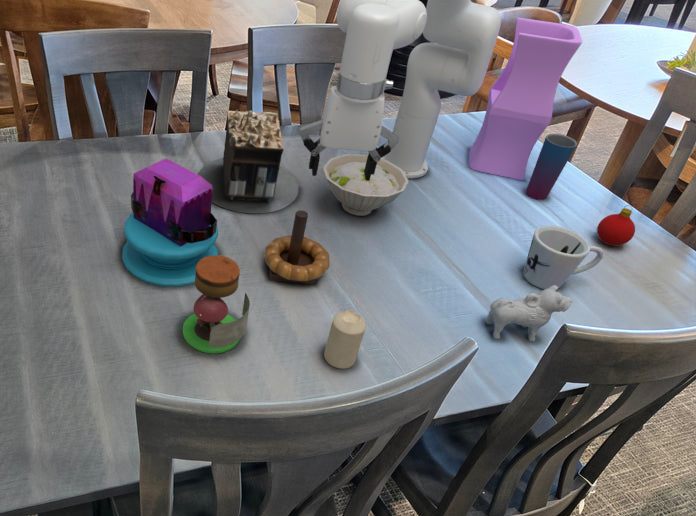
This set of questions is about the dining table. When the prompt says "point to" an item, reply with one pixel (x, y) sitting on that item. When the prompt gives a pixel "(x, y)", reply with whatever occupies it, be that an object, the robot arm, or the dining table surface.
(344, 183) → the bowl
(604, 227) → the christmas ornament
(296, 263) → the post
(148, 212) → the decorative object
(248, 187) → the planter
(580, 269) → the mug
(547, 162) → the cup
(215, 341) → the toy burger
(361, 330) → the candle
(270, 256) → the ring
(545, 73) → the container
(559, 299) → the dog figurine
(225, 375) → the dining table surface
